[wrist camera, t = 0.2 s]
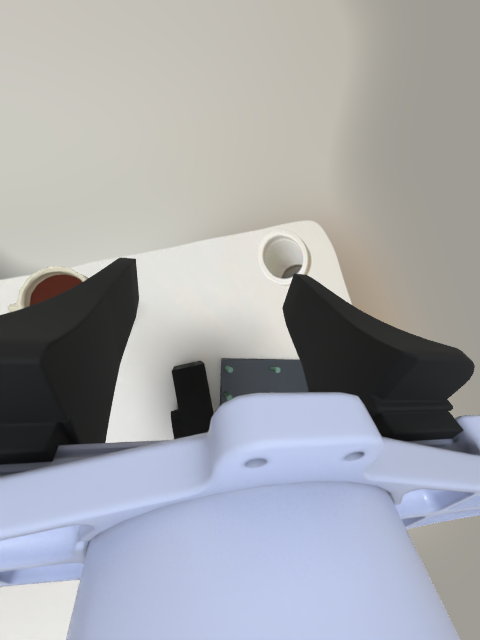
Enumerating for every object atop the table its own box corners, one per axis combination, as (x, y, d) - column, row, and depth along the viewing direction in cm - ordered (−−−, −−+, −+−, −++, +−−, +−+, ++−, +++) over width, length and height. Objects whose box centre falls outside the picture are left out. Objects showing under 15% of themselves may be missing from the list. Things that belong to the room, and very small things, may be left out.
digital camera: (165, 367, 40) (162, 371, 33) (200, 359, 41) (204, 362, 35) (177, 435, 40) (176, 453, 33) (212, 425, 41) (218, 441, 34)
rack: (314, 449, 44) (327, 459, 40) (218, 455, 41) (221, 467, 37) (314, 360, 46) (326, 361, 42) (221, 358, 42) (225, 359, 38)
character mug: (134, 288, 40) (112, 262, 28) (138, 334, 40) (118, 329, 27) (54, 294, 38) (-10, 269, 25) (58, 343, 37) (-6, 342, 25)
